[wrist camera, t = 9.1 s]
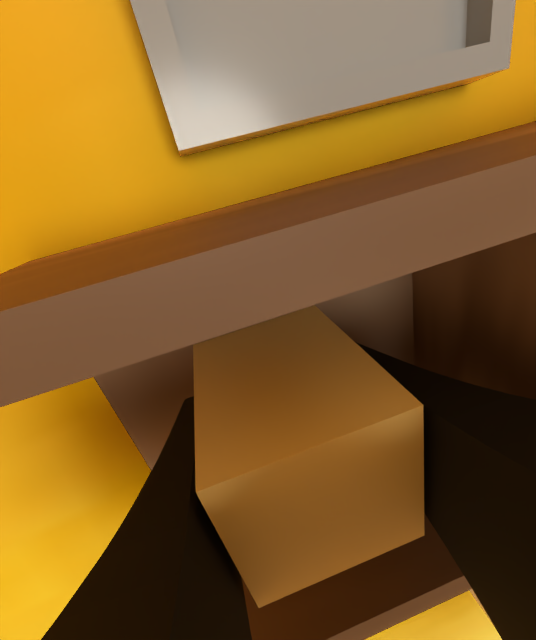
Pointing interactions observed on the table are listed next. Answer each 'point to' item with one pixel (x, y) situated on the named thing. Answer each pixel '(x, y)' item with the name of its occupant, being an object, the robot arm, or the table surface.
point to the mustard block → (304, 452)
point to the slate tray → (310, 59)
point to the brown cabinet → (296, 294)
